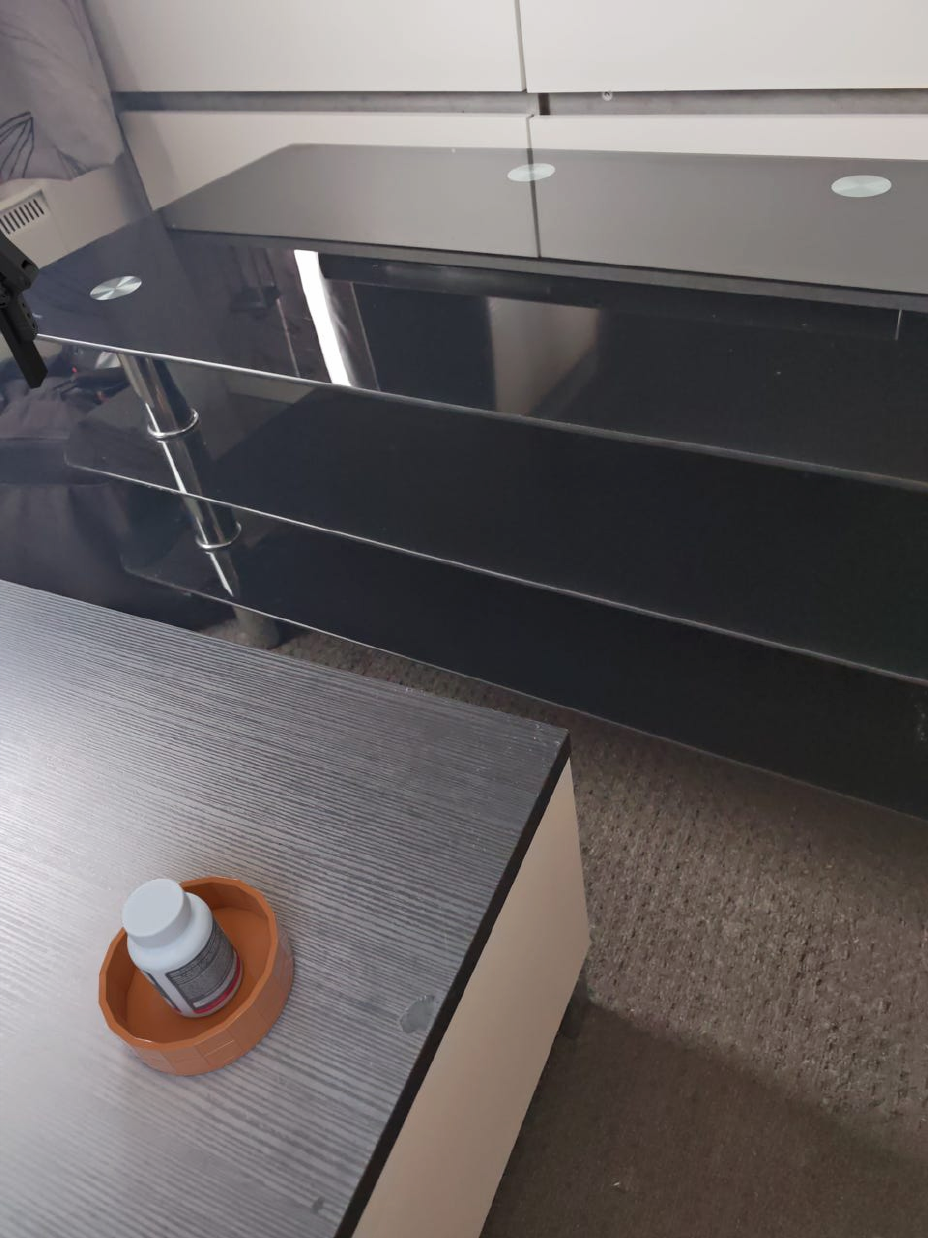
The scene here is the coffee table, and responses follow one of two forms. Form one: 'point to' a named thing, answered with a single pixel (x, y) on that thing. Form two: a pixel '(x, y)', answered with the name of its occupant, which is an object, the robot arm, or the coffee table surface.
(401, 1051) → the coffee table surface
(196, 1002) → the pill bottle
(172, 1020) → the orange round bowl
